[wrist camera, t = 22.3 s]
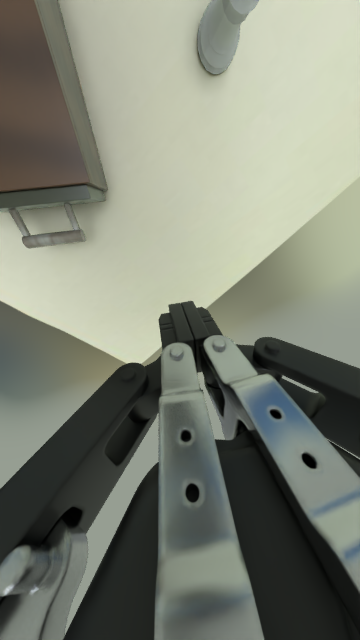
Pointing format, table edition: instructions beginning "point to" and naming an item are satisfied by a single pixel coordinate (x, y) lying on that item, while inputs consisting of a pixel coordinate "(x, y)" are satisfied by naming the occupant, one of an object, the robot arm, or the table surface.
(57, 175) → the cabinet
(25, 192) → the drawer
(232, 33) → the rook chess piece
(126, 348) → the table surface
